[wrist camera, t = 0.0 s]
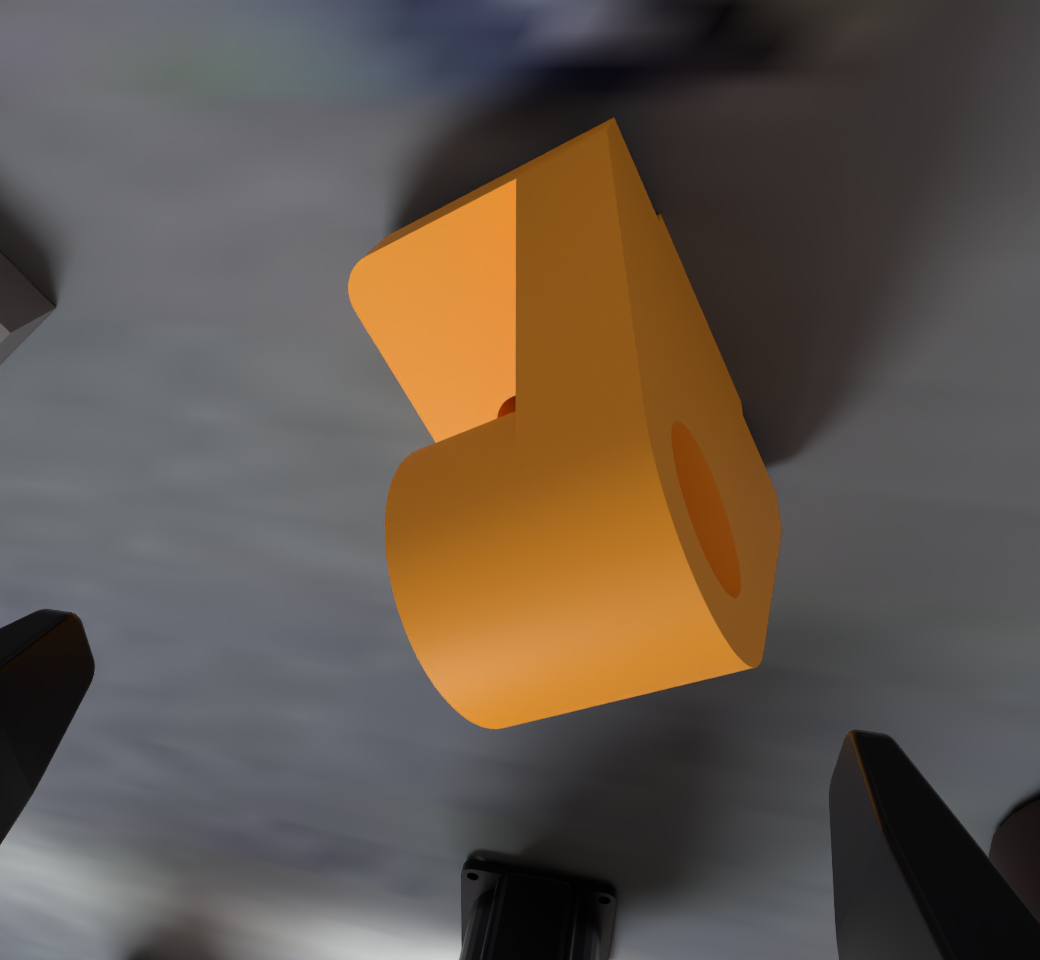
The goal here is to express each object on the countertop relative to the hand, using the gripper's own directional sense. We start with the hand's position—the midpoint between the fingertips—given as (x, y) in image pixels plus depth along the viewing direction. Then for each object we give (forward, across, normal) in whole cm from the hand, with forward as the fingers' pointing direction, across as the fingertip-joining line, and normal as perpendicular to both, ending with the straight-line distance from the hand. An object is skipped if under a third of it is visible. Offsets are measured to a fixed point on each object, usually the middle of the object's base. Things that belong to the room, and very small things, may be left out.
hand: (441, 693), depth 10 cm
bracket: (+15, 0, +2) cm, 15 cm away
